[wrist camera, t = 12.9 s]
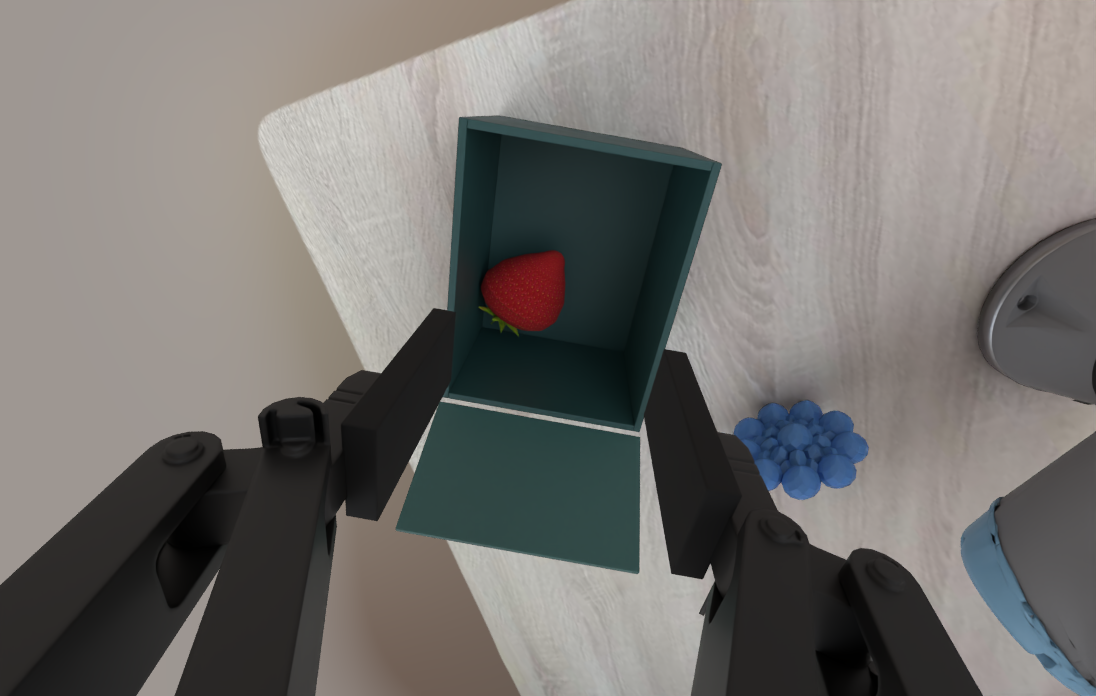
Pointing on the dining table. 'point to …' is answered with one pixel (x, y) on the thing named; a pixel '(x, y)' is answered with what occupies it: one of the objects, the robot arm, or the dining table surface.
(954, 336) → the dining table surface
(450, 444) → the flap
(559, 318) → the carton
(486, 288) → the strawberry
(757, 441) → the blue knobby cluster
